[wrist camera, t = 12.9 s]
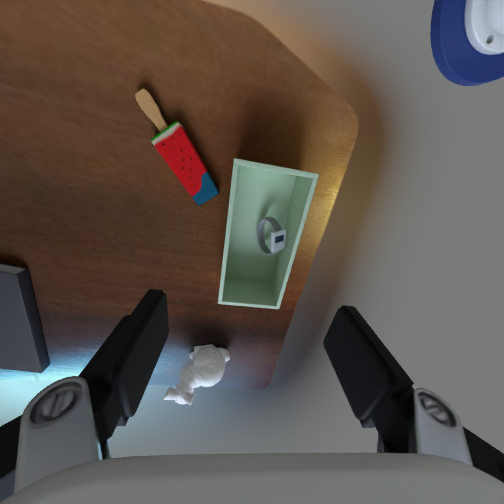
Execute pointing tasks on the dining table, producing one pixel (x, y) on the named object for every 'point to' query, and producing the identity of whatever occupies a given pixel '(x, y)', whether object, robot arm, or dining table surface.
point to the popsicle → (179, 152)
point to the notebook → (20, 323)
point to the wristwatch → (276, 236)
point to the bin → (245, 231)
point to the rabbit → (199, 372)
